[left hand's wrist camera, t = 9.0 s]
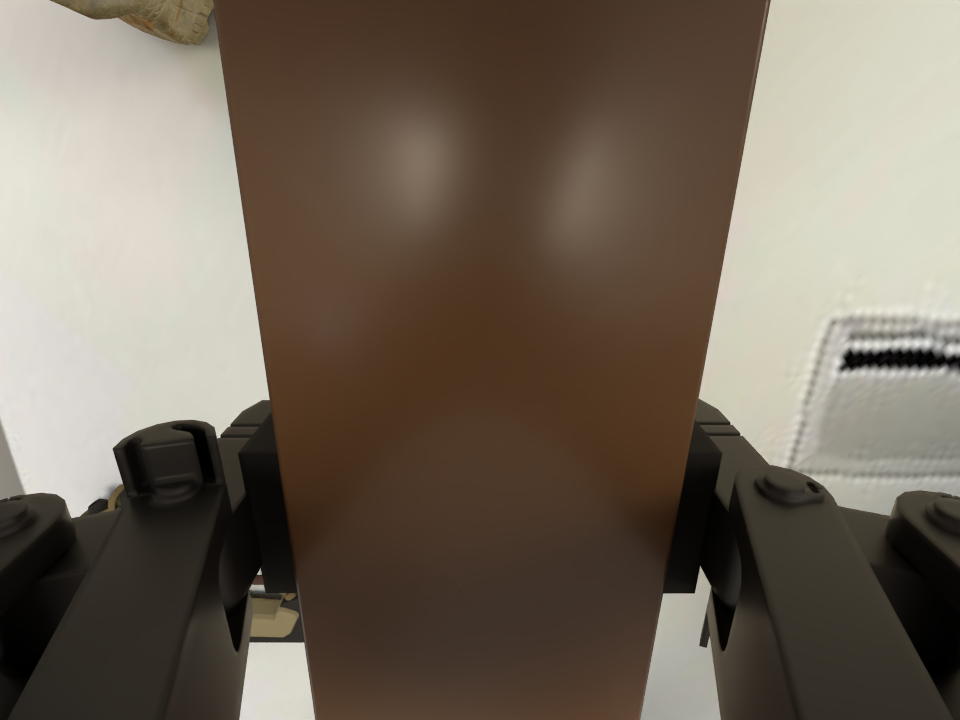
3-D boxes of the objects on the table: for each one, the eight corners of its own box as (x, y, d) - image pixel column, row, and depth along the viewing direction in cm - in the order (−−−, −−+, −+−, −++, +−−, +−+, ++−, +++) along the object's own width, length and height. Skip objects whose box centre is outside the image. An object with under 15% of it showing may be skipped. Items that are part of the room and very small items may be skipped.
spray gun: (350, 612, 43) (182, 632, 45) (281, 447, 36) (86, 477, 38) (336, 661, 39) (153, 681, 41) (256, 486, 33) (40, 518, 34)
